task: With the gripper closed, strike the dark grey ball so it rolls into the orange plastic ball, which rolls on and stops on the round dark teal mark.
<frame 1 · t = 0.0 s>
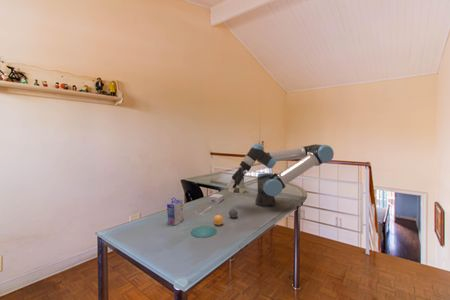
hand: (229, 189, 148), 15 cm above the table, tool tilted 35°, fingers open, 13 cm apart
charger: (217, 200, 177), on the table
object ball: (218, 219, 127), on the table
dark grey ball: (233, 213, 138), on the table
crossbow: (205, 212, 151), on the table
ink cartridge box: (175, 222, 132), on the table
coffee can: (238, 192, 198), on the table
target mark: (203, 231, 118), on the table
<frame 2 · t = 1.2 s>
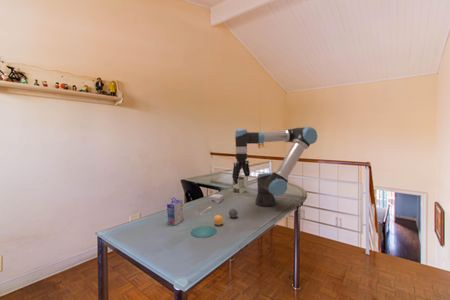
hand: (241, 187, 144), 18 cm above the table, tool pointing down, fingers open, 9 cm apart
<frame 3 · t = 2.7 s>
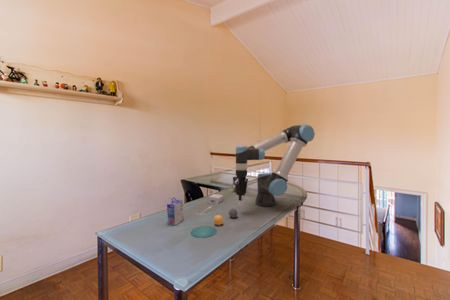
hand: (241, 204, 145), 6 cm above the table, tool pointing down, fingers closed
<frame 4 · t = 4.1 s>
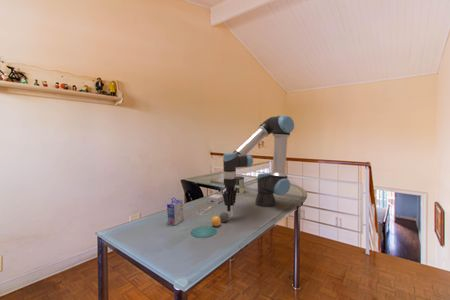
hand: (230, 215, 135), 2 cm above the table, tool pointing down, fingers closed
object ball: (216, 221, 125), on the table
dark grey ball: (224, 217, 131), on the table
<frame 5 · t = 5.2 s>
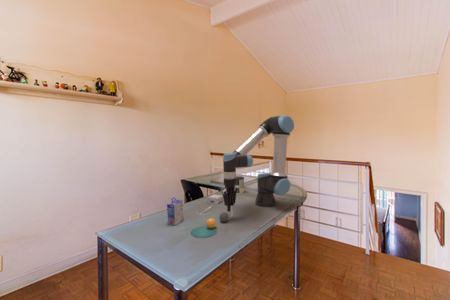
hand: (230, 215, 135), 2 cm above the table, tool pointing down, fingers closed
object ball: (211, 223, 122), on the table
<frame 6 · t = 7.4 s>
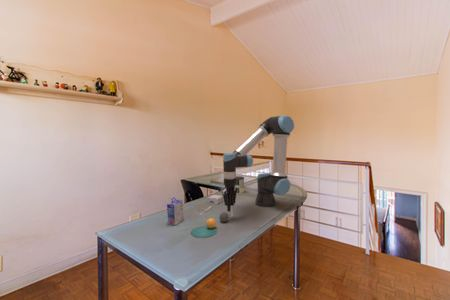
hand: (230, 215, 135), 2 cm above the table, tool pointing down, fingers closed
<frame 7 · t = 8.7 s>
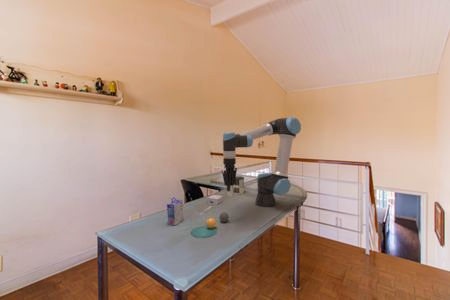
hand: (229, 196, 135), 14 cm above the table, tool pointing down, fingers closed
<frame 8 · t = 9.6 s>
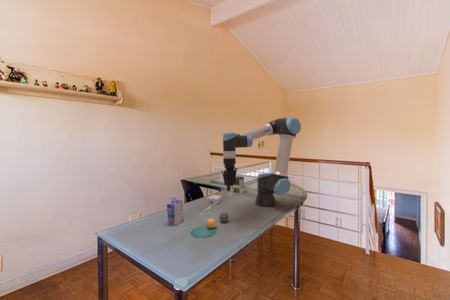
hand: (229, 196, 135), 14 cm above the table, tool pointing down, fingers closed
at the end: object ball 5.9 cm from the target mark (horizontally); object ball never touched the robot; dark grey ball first touched object ball at 3.9 s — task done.
